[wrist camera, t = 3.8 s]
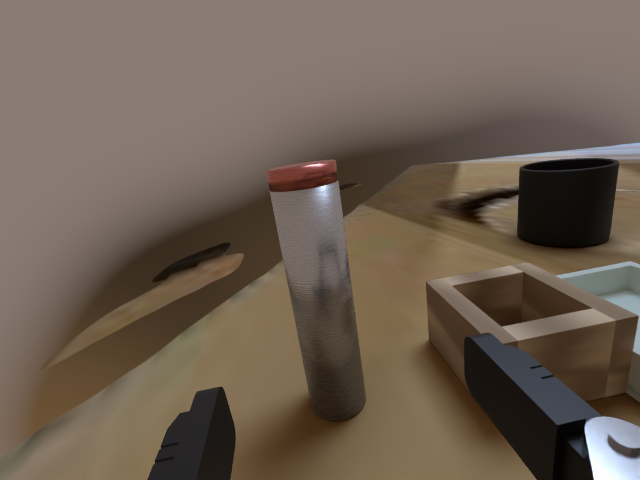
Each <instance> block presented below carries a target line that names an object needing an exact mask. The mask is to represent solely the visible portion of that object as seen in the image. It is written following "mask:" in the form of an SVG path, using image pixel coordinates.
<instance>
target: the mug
mask: <svg viewBox="0 0 640 480" xmlns="http://www.w3.org/2000/svg"><path fill="white" fill-rule="evenodd" d="M618 168H619V162H618V161H617V160H613V159H604V158H576V159H560V160H550V161H542V162H536V163H531V164H527V165H524V166H521V167H520V172H519V199H518V225H517V233H518V235H519V237H520V238H522V239H524V240H526V241H528V242H532V243H535V244H540V245H546V246H553V247H585V246H592V245H597V244H600V243H603V242H605V241H606V240H607V239H608V238H609V236H610V231H611V223H612V215H613V207H614V200H615V192H616V184H617V176H618Z"/></svg>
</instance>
